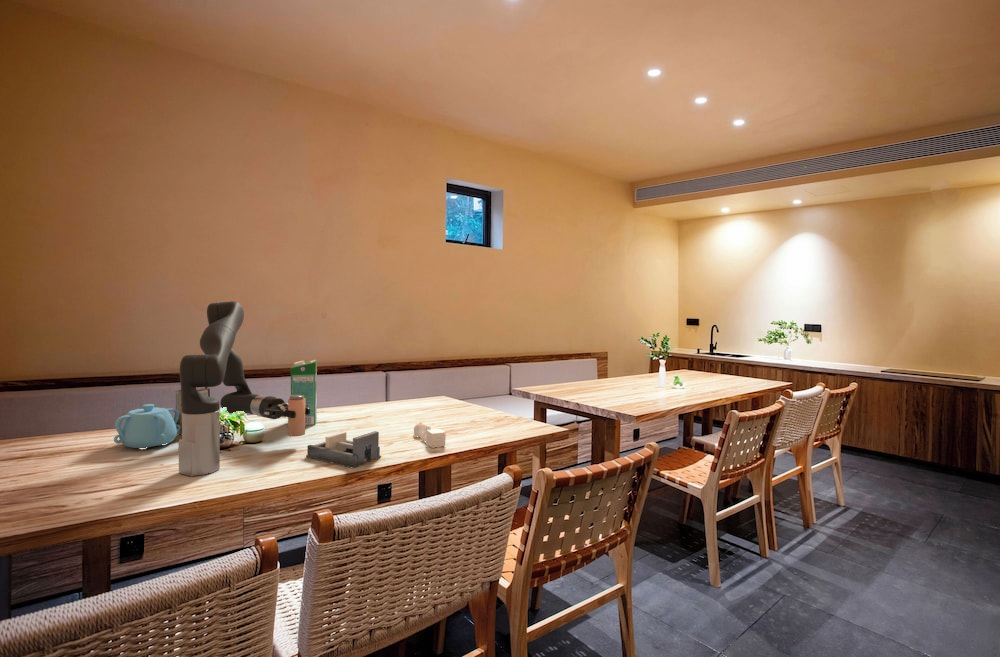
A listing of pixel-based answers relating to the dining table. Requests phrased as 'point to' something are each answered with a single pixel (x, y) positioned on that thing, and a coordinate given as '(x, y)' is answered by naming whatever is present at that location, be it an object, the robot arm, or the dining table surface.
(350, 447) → the pusher
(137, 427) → the decorative pot
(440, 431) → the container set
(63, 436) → the dining table surface
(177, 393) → the coffee box
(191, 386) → the robot arm
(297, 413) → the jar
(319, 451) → the grey holder
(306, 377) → the milk carton
